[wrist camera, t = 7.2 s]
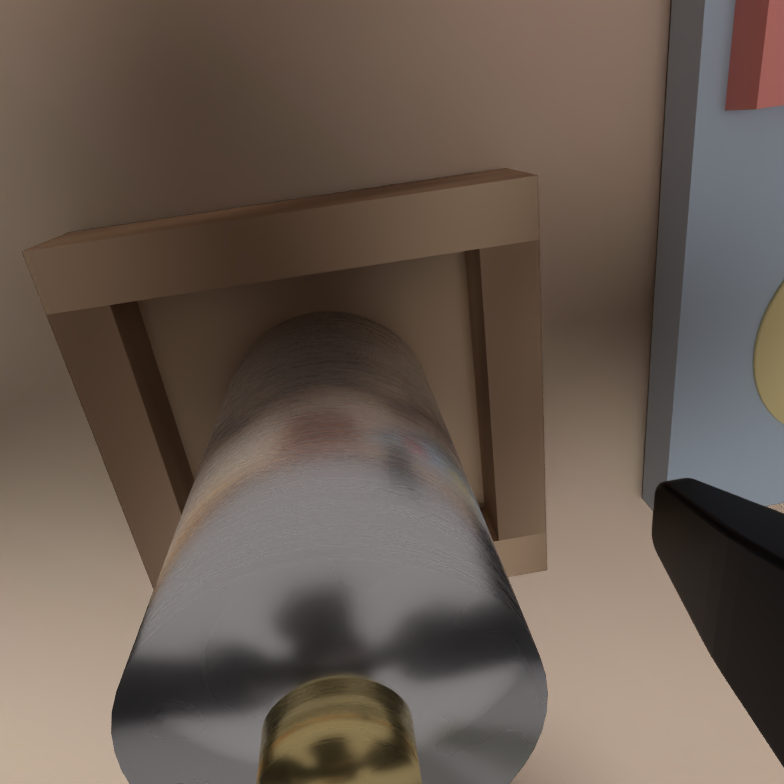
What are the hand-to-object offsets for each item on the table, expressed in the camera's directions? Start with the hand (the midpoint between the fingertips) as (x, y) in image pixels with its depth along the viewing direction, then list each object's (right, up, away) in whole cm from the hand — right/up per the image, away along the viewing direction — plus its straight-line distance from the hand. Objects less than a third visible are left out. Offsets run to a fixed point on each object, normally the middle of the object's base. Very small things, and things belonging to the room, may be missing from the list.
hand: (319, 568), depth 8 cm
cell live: (0, +2, +4) cm, 5 cm away
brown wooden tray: (0, +2, +5) cm, 5 cm away
